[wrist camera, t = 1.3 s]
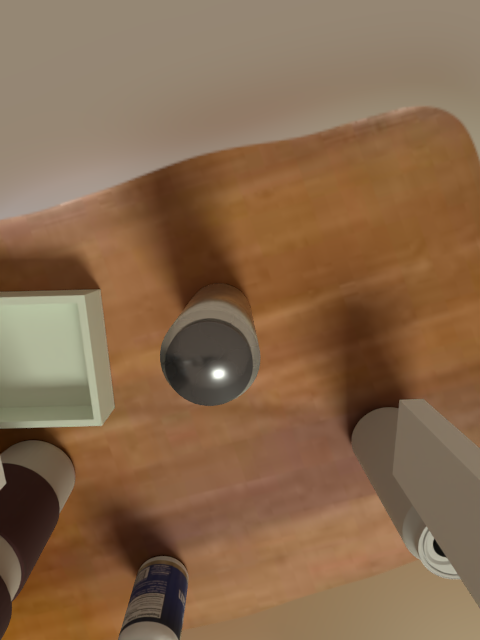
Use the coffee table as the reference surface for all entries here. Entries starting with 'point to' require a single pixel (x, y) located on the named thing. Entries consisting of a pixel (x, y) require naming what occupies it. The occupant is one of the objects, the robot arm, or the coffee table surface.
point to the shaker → (212, 347)
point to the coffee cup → (28, 512)
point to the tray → (53, 359)
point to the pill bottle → (157, 601)
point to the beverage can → (395, 488)
